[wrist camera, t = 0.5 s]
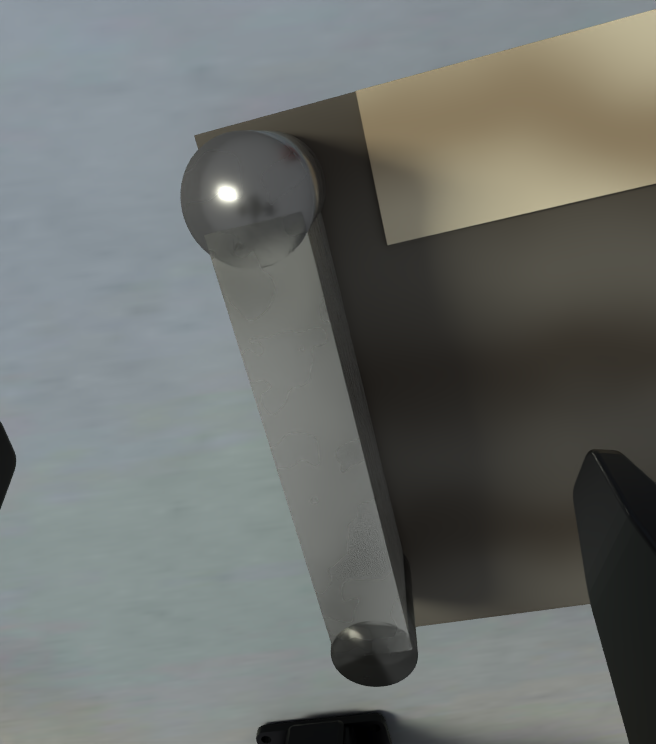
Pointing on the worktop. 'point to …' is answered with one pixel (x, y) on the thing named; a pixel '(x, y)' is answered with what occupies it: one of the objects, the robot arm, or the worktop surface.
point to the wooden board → (497, 298)
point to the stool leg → (307, 387)
